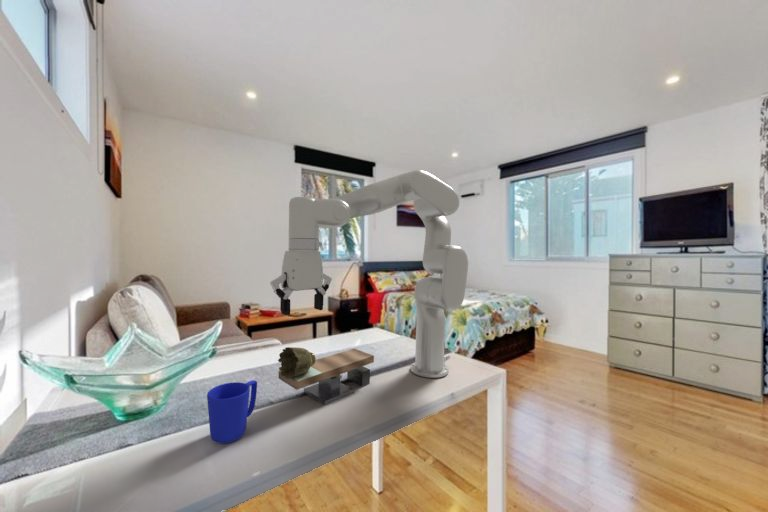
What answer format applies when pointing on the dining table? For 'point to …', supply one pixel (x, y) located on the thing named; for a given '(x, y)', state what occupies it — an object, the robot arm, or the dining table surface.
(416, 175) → the robot arm
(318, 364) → the beam
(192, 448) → the dining table surface
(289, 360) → the olive green rounded piece
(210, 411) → the mug
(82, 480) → the dining table surface
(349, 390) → the pivot stand
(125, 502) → the dining table surface
